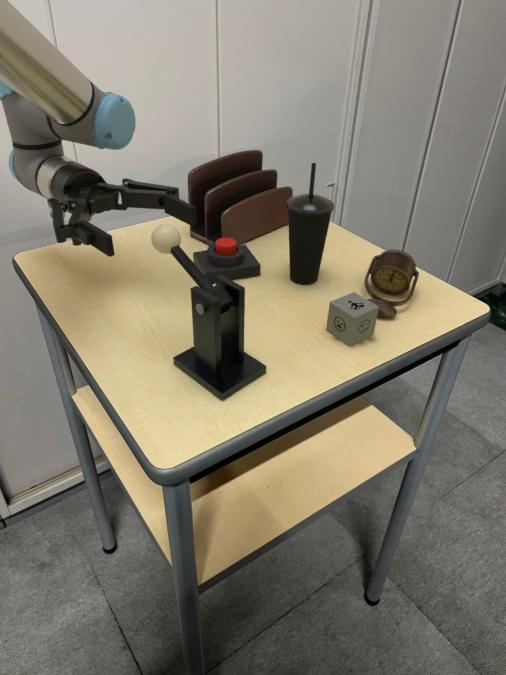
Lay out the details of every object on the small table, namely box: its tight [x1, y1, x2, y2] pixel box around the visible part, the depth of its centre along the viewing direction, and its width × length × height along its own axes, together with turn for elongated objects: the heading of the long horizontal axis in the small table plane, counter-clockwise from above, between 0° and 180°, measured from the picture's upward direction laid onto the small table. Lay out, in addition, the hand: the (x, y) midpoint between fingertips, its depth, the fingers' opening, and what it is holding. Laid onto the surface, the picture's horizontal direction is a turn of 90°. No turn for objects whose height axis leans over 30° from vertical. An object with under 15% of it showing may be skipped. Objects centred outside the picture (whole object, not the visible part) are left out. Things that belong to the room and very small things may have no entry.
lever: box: [150, 223, 234, 314], centre depth 65 cm, size 14×4×4 cm, turn 45°
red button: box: [216, 238, 236, 255], centre depth 90 cm, size 4×4×2 cm
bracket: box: [172, 275, 267, 401], centre depth 67 cm, size 10×8×13 cm
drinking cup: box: [286, 162, 335, 286], centre depth 85 cm, size 8×8×20 cm
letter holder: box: [187, 149, 294, 246], centre depth 102 cm, size 10×20×14 cm, turn 135°
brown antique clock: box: [363, 249, 420, 318], centre depth 84 cm, size 7×13×10 cm
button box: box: [192, 242, 261, 284], centre depth 91 cm, size 10×8×4 cm
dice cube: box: [325, 291, 379, 347], centre depth 76 cm, size 5×5×5 cm
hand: (155, 230), depth 69 cm, fingers open, 13 cm apart
